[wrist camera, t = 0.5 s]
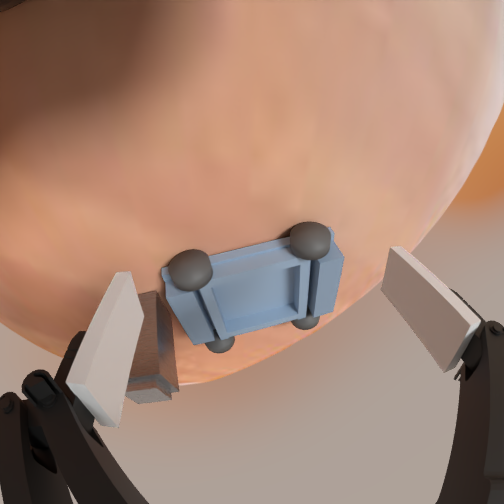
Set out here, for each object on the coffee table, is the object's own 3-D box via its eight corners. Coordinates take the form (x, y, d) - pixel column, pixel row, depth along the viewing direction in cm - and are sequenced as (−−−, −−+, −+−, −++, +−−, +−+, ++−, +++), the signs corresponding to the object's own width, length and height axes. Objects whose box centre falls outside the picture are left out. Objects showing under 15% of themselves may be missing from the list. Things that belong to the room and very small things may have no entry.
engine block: (114, 300, 31) (109, 390, 23) (155, 290, 32) (160, 384, 23) (133, 325, 36) (135, 406, 27) (171, 317, 36) (180, 400, 28)
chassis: (156, 258, 29) (156, 288, 26) (331, 216, 31) (349, 240, 27) (195, 332, 40) (198, 357, 37) (320, 299, 42) (331, 321, 39)
